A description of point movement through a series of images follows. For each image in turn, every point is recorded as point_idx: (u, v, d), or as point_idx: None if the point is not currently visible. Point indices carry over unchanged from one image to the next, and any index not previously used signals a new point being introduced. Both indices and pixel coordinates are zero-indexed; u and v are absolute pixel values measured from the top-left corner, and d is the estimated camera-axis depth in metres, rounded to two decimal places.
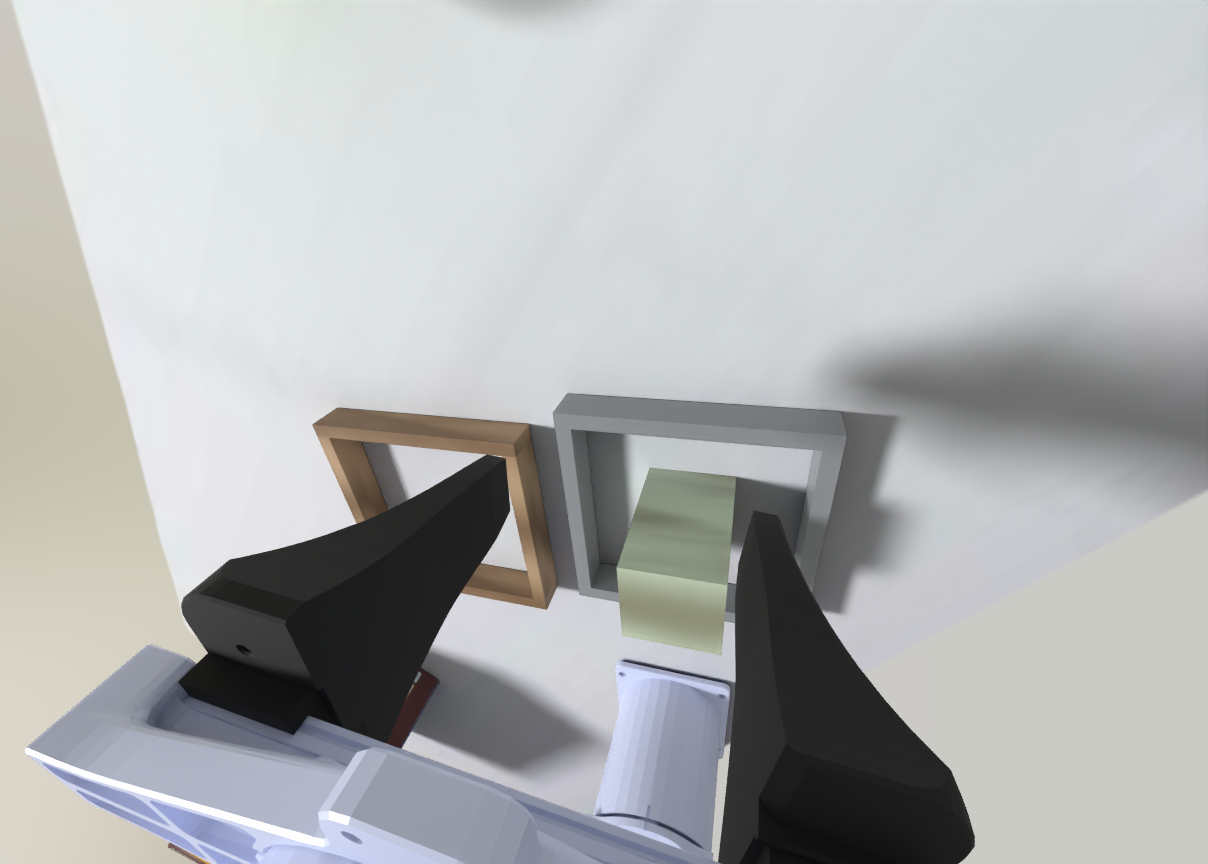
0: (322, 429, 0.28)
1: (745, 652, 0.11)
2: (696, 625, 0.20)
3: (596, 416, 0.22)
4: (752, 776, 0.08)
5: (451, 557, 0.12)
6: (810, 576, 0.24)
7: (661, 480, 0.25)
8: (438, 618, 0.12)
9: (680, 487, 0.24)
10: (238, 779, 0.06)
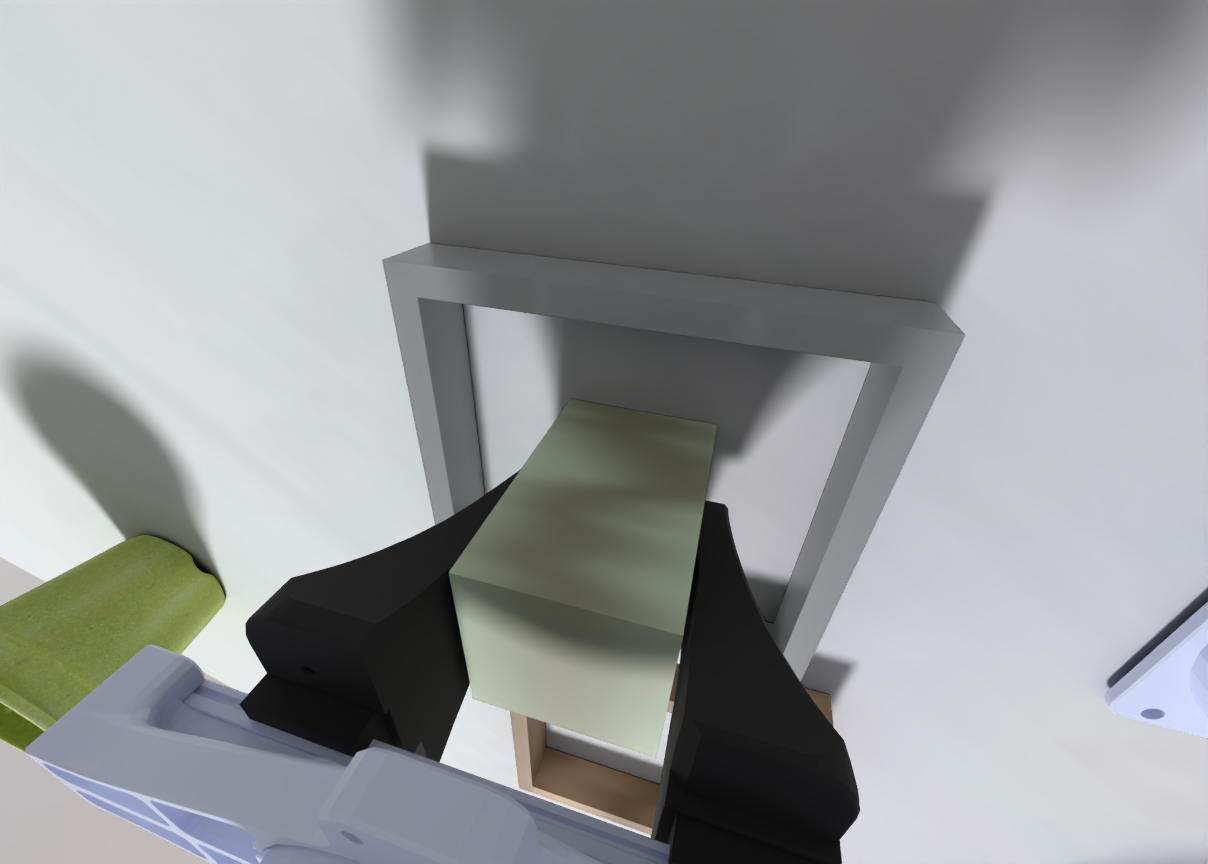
0: (523, 784, 0.26)
1: (685, 636, 0.11)
2: (586, 647, 0.09)
3: None
4: (671, 750, 0.08)
5: None
6: (723, 314, 0.10)
7: None
8: None
9: None
10: (238, 779, 0.06)
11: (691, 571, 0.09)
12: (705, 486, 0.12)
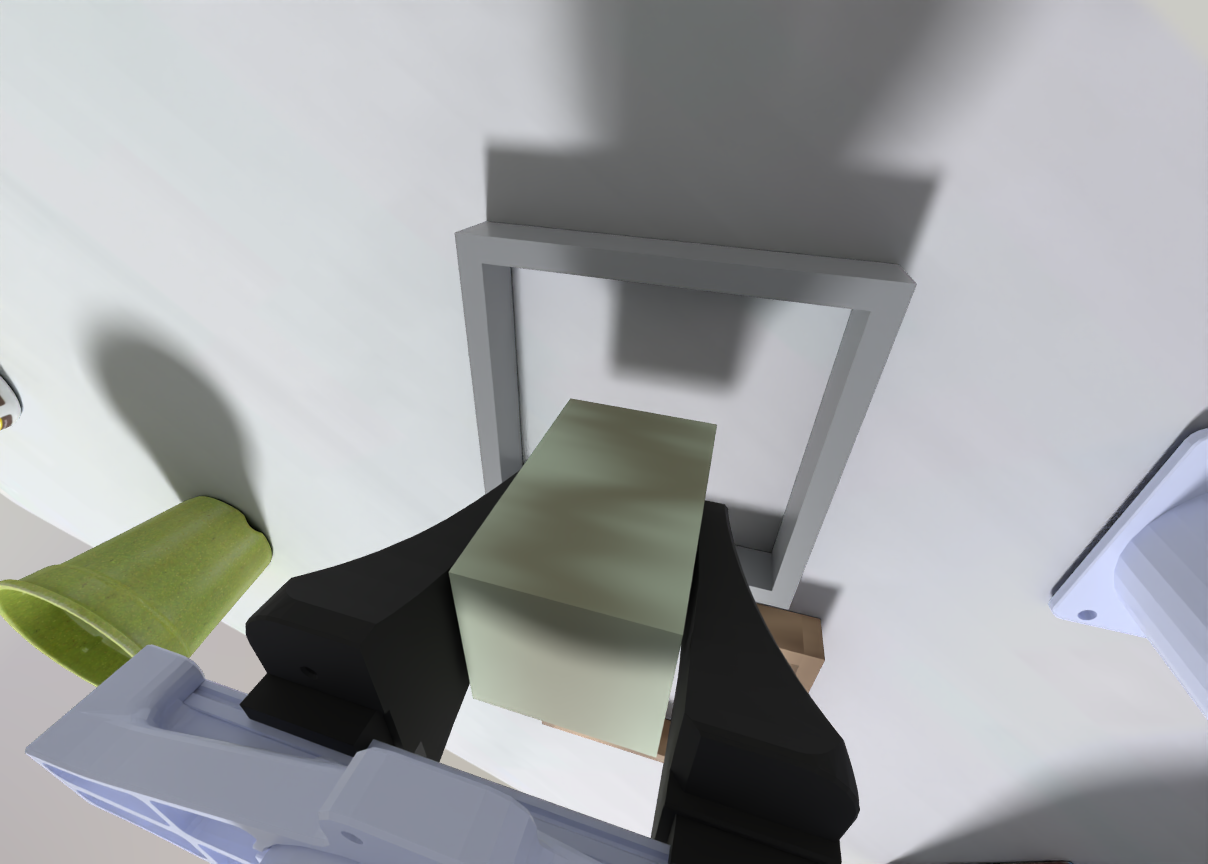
0: None
1: (685, 636, 0.11)
2: (585, 647, 0.09)
3: None
4: (671, 750, 0.08)
5: None
6: (730, 272, 0.13)
7: None
8: None
9: None
10: (238, 779, 0.06)
11: (691, 571, 0.09)
12: (705, 486, 0.12)
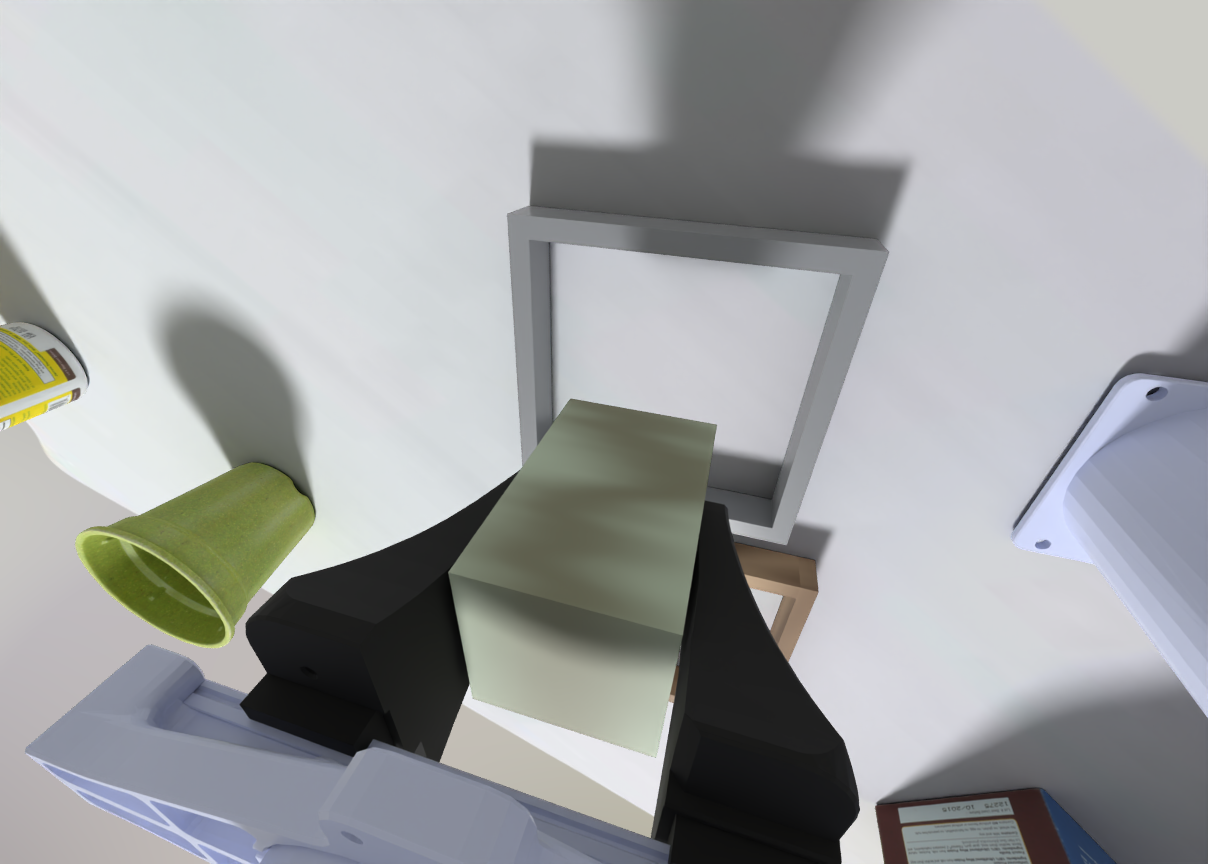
0: None
1: (685, 636, 0.11)
2: (585, 647, 0.09)
3: (522, 452, 0.23)
4: (671, 750, 0.08)
5: None
6: (738, 244, 0.16)
7: None
8: None
9: None
10: (236, 779, 0.06)
11: (691, 571, 0.09)
12: (705, 486, 0.12)
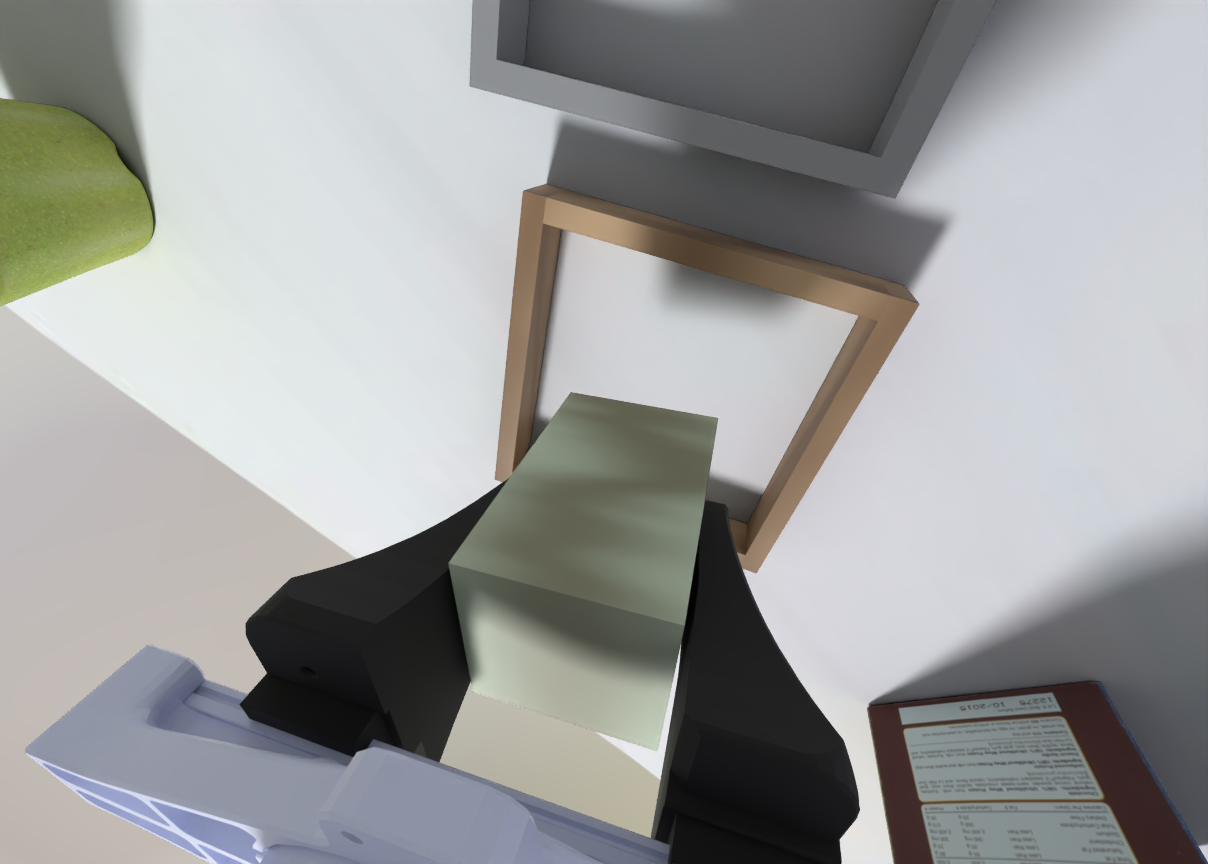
0: (501, 471, 0.23)
1: (685, 636, 0.11)
2: (586, 638, 0.09)
3: None
4: (671, 750, 0.08)
5: None
6: None
7: None
8: None
9: None
10: (238, 778, 0.06)
11: (692, 562, 0.09)
12: (706, 478, 0.12)
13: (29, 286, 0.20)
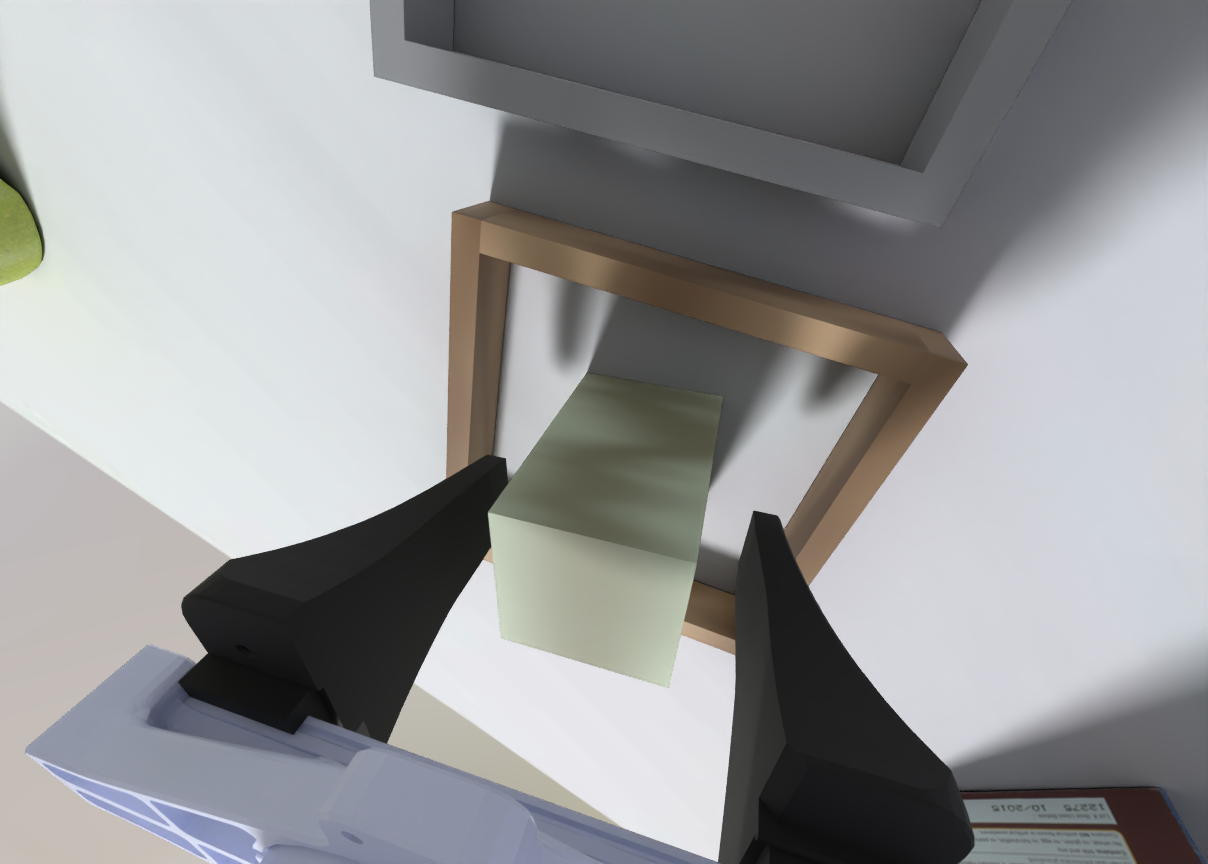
0: None
1: (745, 652, 0.11)
2: (609, 580, 0.10)
3: None
4: (752, 776, 0.08)
5: (451, 556, 0.12)
6: None
7: None
8: (438, 618, 0.12)
9: None
10: (237, 779, 0.06)
11: (702, 514, 0.11)
12: (713, 446, 0.13)
13: None
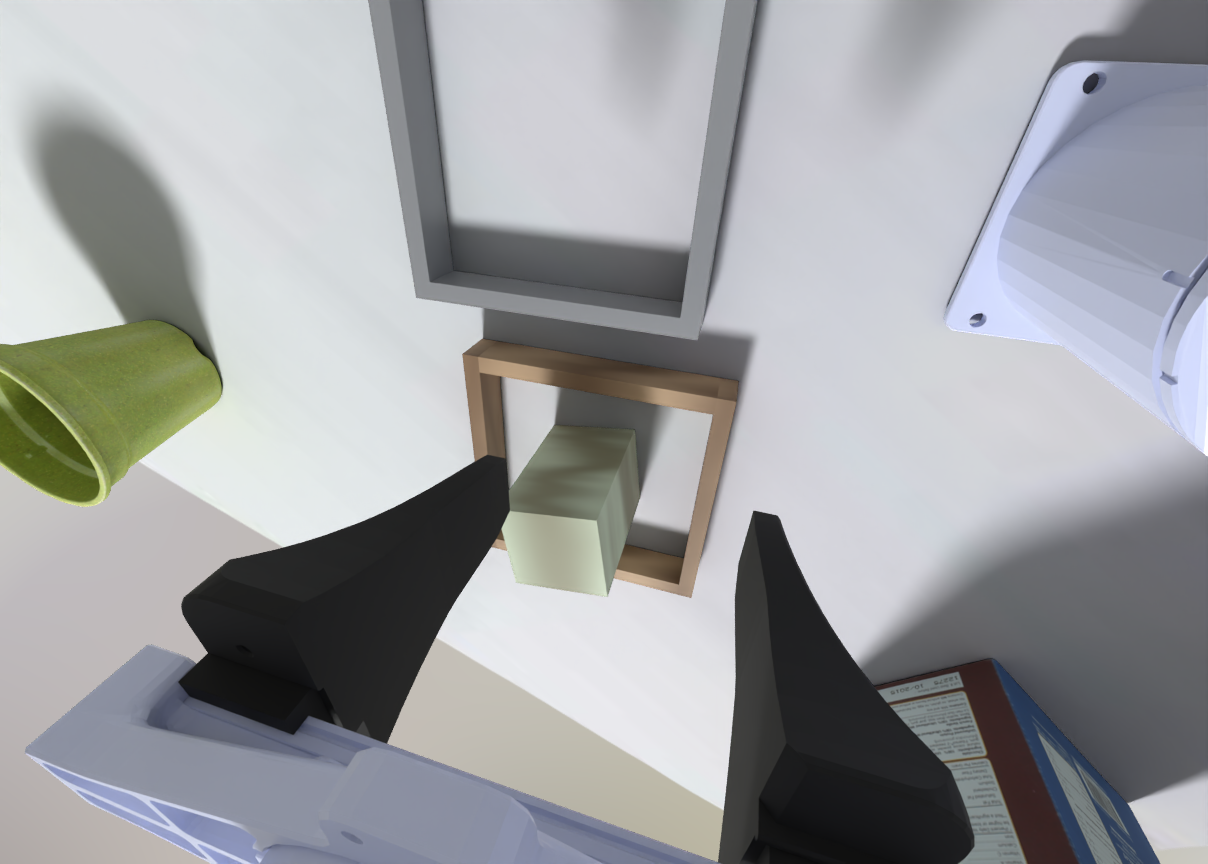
0: None
1: (745, 652, 0.11)
2: (560, 536, 0.20)
3: (409, 248, 0.21)
4: (752, 776, 0.08)
5: (451, 556, 0.12)
6: None
7: None
8: (438, 618, 0.12)
9: None
10: (237, 779, 0.06)
11: (605, 497, 0.20)
12: (620, 461, 0.23)
13: (147, 451, 0.28)
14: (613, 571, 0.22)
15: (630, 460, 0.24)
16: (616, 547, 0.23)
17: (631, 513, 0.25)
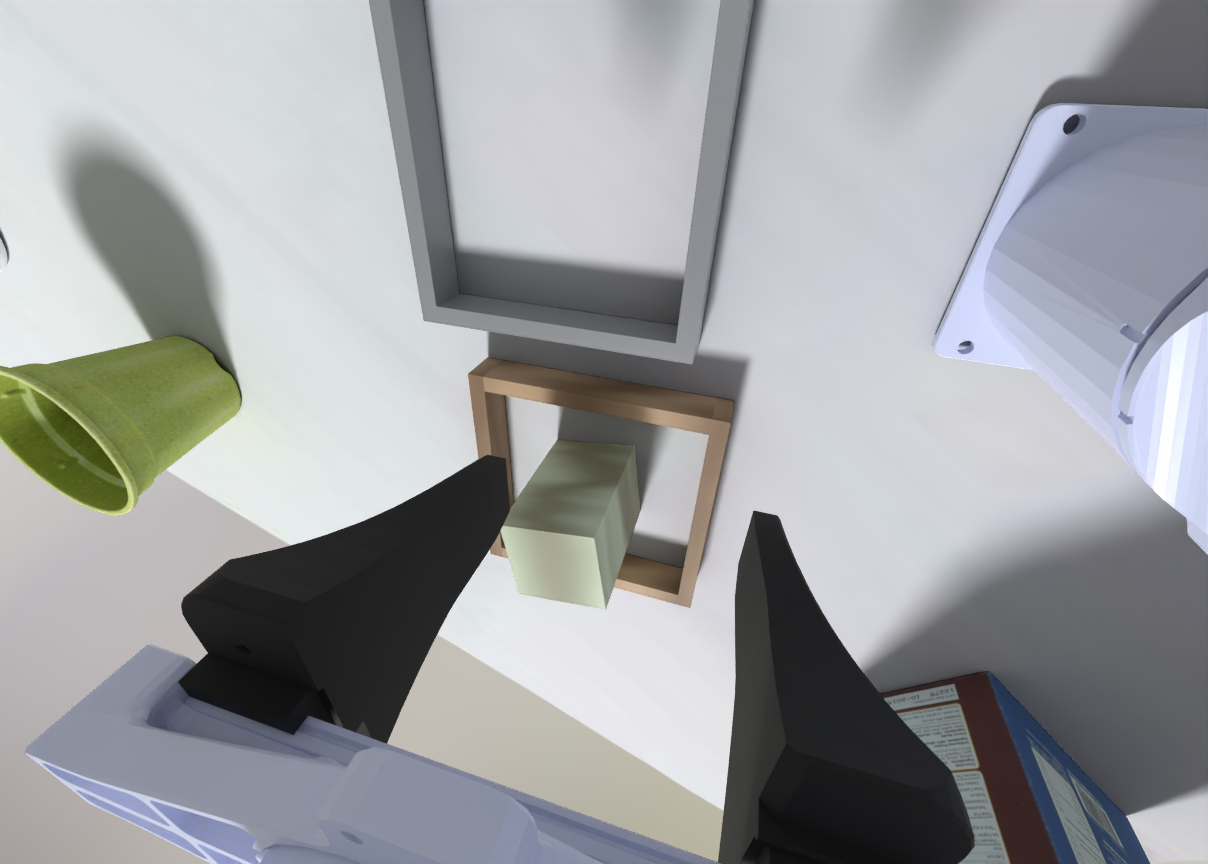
0: (493, 548, 0.30)
1: (745, 652, 0.11)
2: (560, 552, 0.21)
3: (416, 274, 0.22)
4: (752, 776, 0.08)
5: (451, 557, 0.12)
6: None
7: None
8: (438, 618, 0.12)
9: None
10: (238, 779, 0.06)
11: (603, 515, 0.21)
12: (619, 477, 0.23)
13: (171, 462, 0.29)
14: (612, 584, 0.23)
15: (630, 475, 0.25)
16: (615, 561, 0.23)
17: (631, 526, 0.26)
